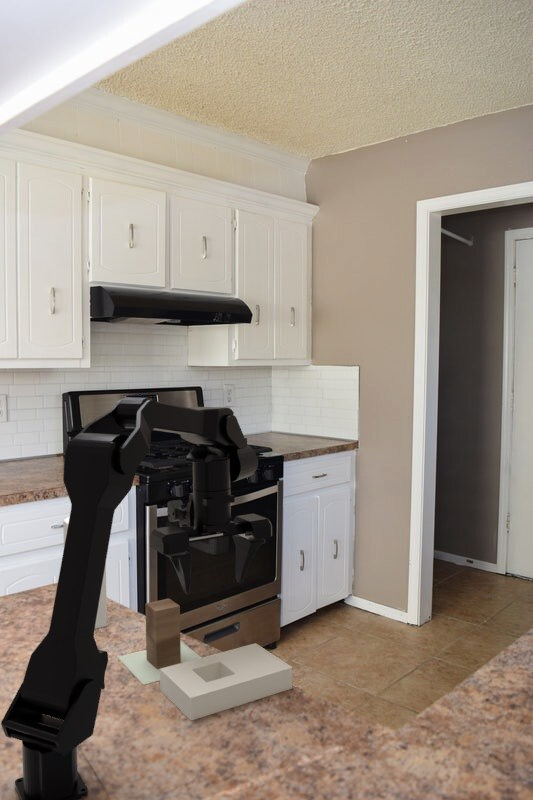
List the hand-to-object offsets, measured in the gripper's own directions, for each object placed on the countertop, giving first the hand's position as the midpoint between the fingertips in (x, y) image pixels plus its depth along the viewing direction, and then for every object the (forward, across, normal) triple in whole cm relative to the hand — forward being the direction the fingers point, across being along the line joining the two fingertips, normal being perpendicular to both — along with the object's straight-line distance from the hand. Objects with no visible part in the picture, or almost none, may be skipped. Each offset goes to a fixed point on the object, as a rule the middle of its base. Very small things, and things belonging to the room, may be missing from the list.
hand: (213, 587), depth 106 cm
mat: (+12, +7, -4) cm, 14 cm away
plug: (+12, +7, -4) cm, 14 cm away
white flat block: (+12, +3, +9) cm, 15 cm away
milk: (+12, +12, -27) cm, 32 cm away
